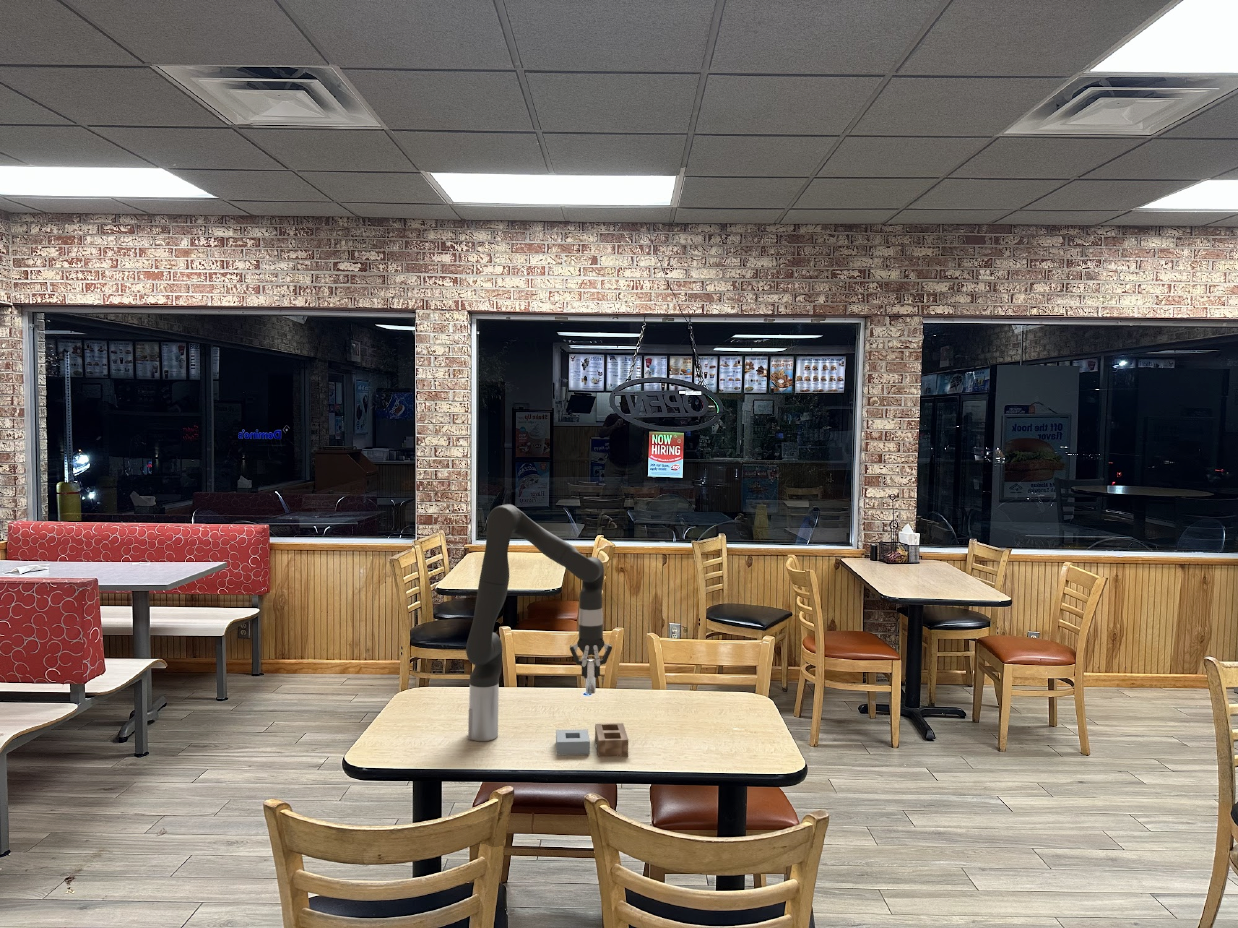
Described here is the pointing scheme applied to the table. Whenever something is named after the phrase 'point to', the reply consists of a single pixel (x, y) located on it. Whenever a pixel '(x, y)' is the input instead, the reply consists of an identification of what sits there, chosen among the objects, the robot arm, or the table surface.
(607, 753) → the walnut rack
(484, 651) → the robot arm
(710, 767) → the table surface
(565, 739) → the socket block
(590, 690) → the steel rod
